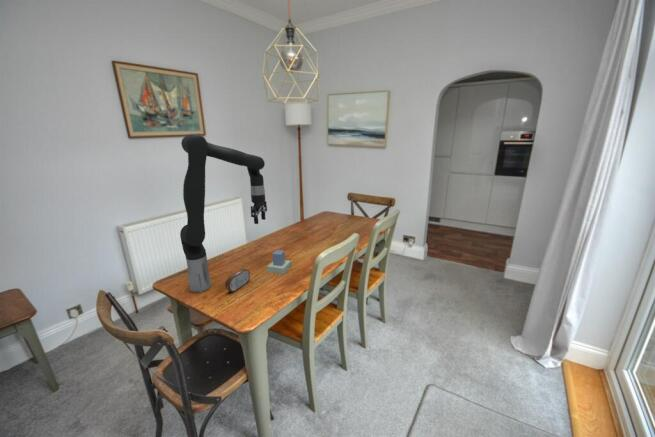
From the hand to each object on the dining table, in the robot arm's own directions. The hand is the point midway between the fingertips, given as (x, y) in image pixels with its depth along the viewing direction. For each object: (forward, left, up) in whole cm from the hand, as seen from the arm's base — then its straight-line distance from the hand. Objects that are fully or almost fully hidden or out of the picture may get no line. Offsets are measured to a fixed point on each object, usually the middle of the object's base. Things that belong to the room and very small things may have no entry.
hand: (260, 221), depth 159 cm
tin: (-26, +2, -27) cm, 38 cm away
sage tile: (-4, -11, -27) cm, 30 cm away
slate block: (-4, -11, -23) cm, 26 cm away
